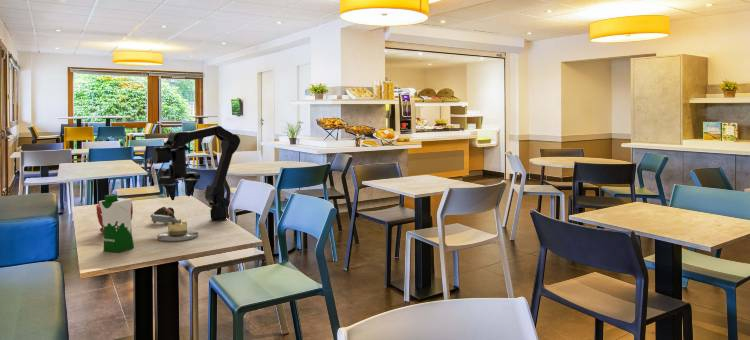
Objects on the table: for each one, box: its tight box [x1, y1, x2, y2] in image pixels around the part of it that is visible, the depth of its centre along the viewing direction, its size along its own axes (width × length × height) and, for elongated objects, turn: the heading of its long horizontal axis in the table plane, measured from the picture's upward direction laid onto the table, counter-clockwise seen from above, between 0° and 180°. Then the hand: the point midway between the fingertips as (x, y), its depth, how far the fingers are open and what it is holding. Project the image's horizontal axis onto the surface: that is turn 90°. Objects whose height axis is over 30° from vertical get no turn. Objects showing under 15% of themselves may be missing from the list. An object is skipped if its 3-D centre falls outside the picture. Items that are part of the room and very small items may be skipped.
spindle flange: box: [156, 218, 199, 243], centre depth 207 cm, size 15×15×7 cm
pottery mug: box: [150, 206, 176, 224], centre depth 233 cm, size 12×10×8 cm
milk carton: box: [98, 193, 135, 254], centre depth 189 cm, size 9×9×20 cm
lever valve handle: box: [151, 214, 188, 236], centre depth 209 cm, size 16×7×6 cm, turn 66°
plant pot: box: [96, 203, 134, 234], centre depth 215 cm, size 13×13×12 cm
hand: (180, 198), depth 225 cm, fingers open, 9 cm apart
